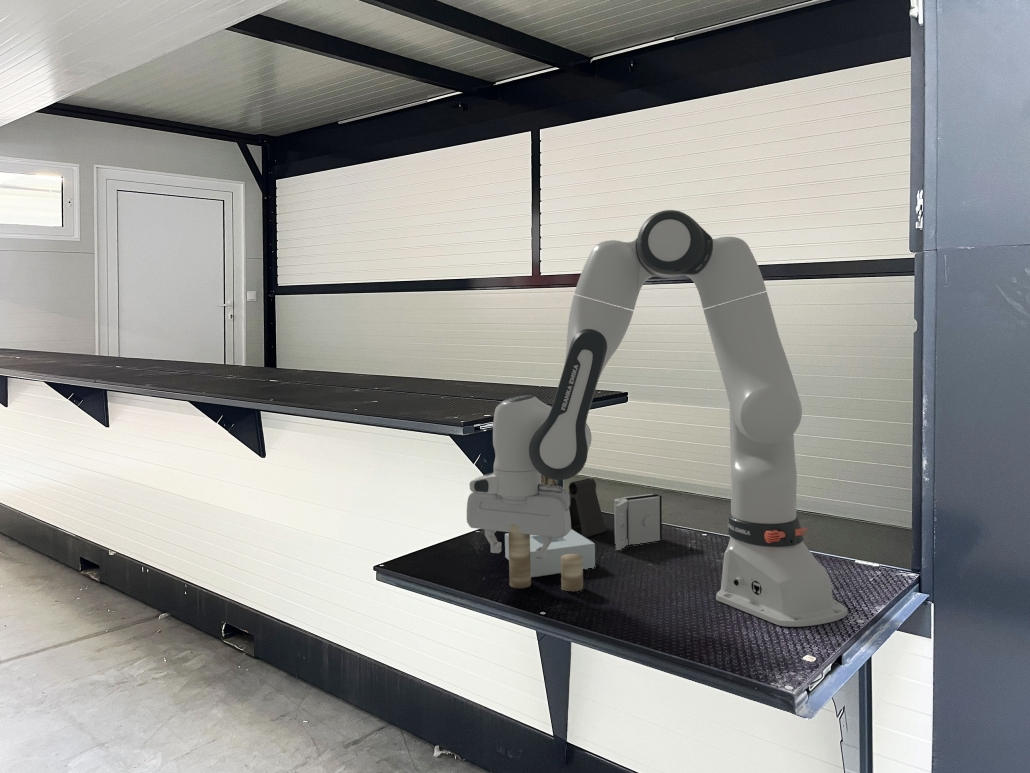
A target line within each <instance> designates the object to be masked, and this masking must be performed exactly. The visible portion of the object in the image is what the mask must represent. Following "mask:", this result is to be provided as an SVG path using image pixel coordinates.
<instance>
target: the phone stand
mask: <svg viewBox="0 0 1030 773" xmlns="http://www.w3.org/2000/svg"><path fill="white" fill-rule="evenodd" d="M595 480H596V479H594V478H590V477H589V478H586V479H580V480H575V481H572V482H570V483H569V484H568V493H569V495H570V507H569V511H570V518H571V529H572V530H574V531H575V532H577V533H578V534H580V535H582V536H583V537H585V538H587V539H588V538H590V537H591V538H592V537H594V535H595V536H597V535H601V534H604V533H603V532H605V533H606V532H607V529H606V525H605V520H604V517H603V513H602V510H601V506H600V502H599V498H598V495H597V482H596V481H595Z"/></svg>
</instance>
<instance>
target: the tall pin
mask: <svg viewBox="0 0 1030 773" xmlns="http://www.w3.org/2000/svg"><path fill="white" fill-rule="evenodd" d="M507 533H508V535H509V560H508V567H509V568H508V570H509V573H508V574H509V586H510V587H511V588H513V589H526V588H529V587H531V585H532V577H531V564H530V535H529V534H521V533H520V532H519V525H513V524H511V531H510V532H507Z"/></svg>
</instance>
